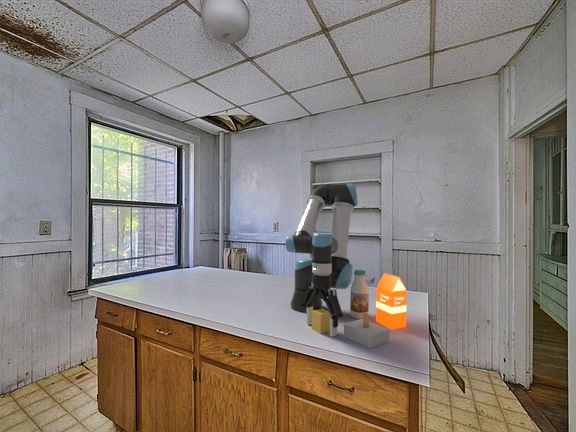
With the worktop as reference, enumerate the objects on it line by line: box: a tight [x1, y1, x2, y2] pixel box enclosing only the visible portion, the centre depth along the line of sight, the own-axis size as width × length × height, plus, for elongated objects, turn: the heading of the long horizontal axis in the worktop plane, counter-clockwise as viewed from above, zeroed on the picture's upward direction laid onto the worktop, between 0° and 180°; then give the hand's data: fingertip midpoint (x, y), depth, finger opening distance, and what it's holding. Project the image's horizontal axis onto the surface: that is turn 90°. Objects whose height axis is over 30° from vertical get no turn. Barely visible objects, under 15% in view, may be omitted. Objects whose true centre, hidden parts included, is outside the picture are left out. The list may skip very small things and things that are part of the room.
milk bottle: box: [349, 269, 370, 320], centre depth 121 cm, size 8×8×20 cm
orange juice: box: [375, 272, 407, 330], centre depth 112 cm, size 8×9×20 cm
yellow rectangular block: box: [311, 308, 332, 335], centre depth 105 cm, size 5×5×7 cm
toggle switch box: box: [343, 312, 390, 349], centre depth 99 cm, size 12×10×8 cm
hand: (320, 329), depth 105 cm, fingers open, 13 cm apart
